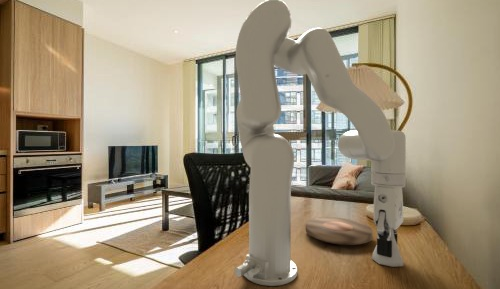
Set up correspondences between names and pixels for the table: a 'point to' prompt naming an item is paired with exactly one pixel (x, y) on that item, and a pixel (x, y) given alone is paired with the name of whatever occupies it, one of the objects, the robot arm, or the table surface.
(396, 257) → the flask
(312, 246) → the table surface
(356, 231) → the turntable
